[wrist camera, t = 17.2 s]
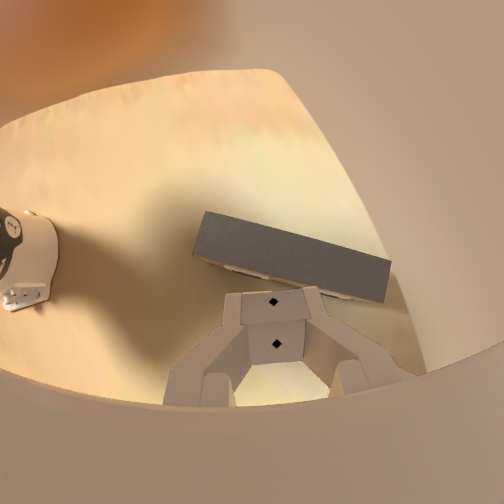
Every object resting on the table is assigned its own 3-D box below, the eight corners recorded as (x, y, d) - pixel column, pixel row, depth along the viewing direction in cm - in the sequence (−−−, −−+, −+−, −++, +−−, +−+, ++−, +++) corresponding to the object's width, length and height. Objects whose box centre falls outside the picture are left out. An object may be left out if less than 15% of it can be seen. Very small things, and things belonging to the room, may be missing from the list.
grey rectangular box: (206, 265, 39) (191, 258, 29) (217, 229, 39) (205, 210, 29) (352, 303, 38) (382, 307, 28) (360, 267, 38) (391, 261, 29)
